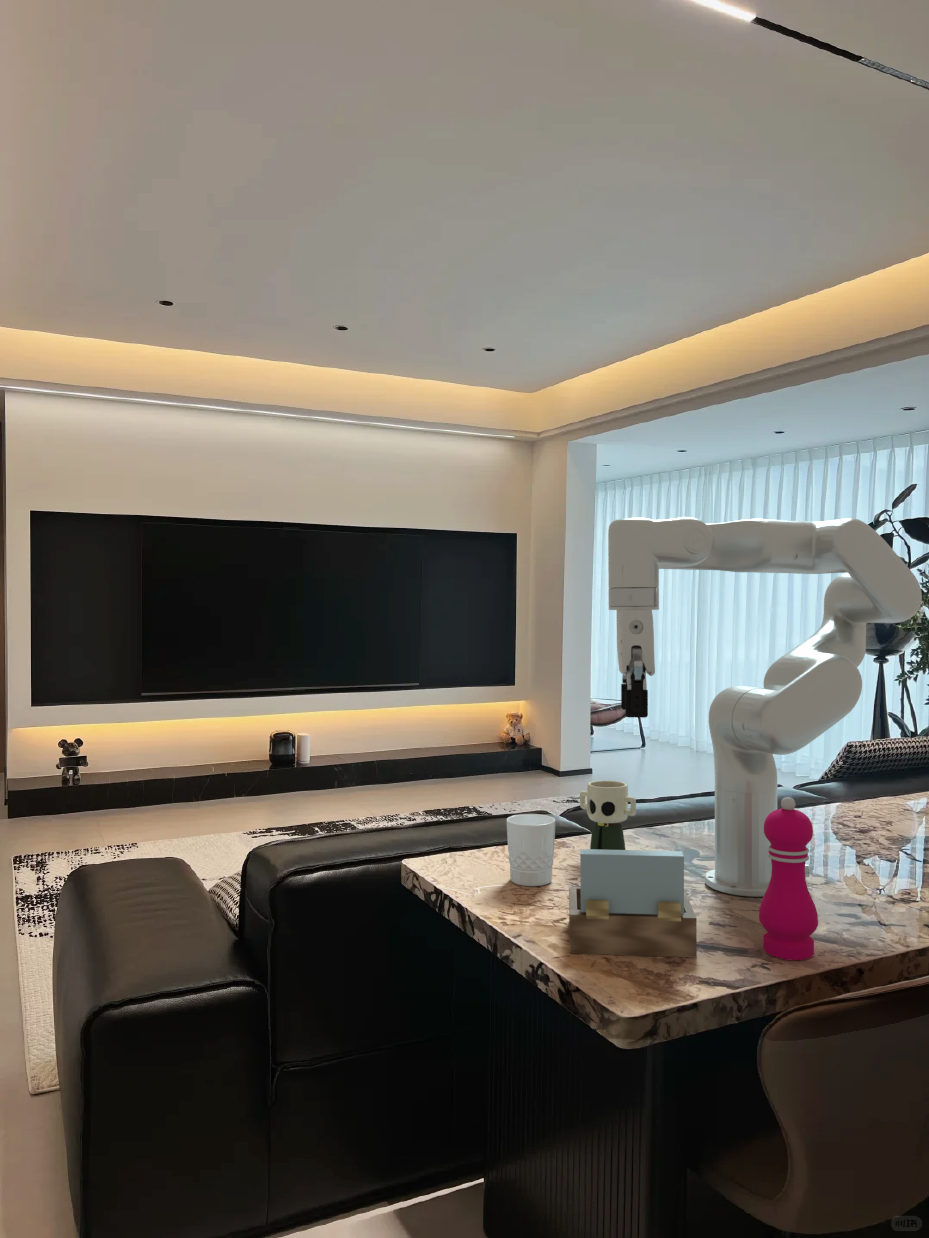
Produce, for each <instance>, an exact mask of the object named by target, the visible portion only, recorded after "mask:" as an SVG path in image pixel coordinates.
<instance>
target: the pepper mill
mask: <svg viewBox="0 0 929 1238" xmlns="http://www.w3.org/2000/svg"><path fill="white" fill-rule="evenodd" d="M780 806H781V808H777V810H774V811H773V812H771V813H770V814H769V815H768V816H767V817H766V819H765V822H764V834H765V836H766V838H767V839H768V840H769V841H770V843H771V844H770V845H769V846H768V850H769V853H768V857H769V858H771V863H772V872H771V879H770V883H769V885H768V888H767V890H766V892H765V895H764V896H763V897H762V899H761V901H760V906H759V910H758V920H759V923H760V924H761V926H762V927H763V928H764V930H765V932H764V934H763V935H762V950H763V951H764V952H765V954H767V955H769V956H771V957H773V958H777V959H780V960H787V961H805V960H808V959H811V958H812V957H814V956H815V940H814V939H813V938H812V937H811V936H812V935H813V933H815V932H816V930H817V929H818V926H819V917H818V911H817V908H816V904H815V902H814V900H813V897H812V896H811V894H810V891H809V889H808V884H807V880H806V877H805V865H806V862H808V861H809V859H810V856H809V852H810V849H809V848H808V847H807V845H808V844H809V843H811V841H812V839H813V836H814V829H813V828H814V827H813V824H812V821H811V820H810V818H809V816H808V815H806V813H804V812H803V811H801V810H798V809H795V808H796V801H795V799H794V798H793V797H790V796H786V797H783V798H782V799H781V801H780Z"/></svg>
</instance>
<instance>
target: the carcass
mask: <svg viewBox="0 0 929 1238" xmlns="http://www.w3.org/2000/svg"><path fill="white" fill-rule="evenodd" d="M568 898H569V899H568V907H569V908H568V918H569V919H568V921H569V922H568V923H569V929H568V930H569V954H579V955H580V954H581V955H582V954H585V955H586V954H587V955H610V956H611V955H614V956H615V955H617V956H640V957H641V956H644V957H645V956H646V957H647V956H648V957H679V958H681V957H682V958H697V952H698V951H697V945H698V943H697V941H698V940H697V932H698V931H697V929H698V928H697V915H696V913H695V910H694V908H693V906H692V904H691V902H690V899H689V897H688V895H687V893H686V890H685V889H684V915H681V903H680V902H658V914H627V913H609V901H608V900H586V912H581V886H573V885H572V886H571V885H570V886H568Z"/></svg>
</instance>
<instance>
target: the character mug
mask: <svg viewBox="0 0 929 1238" xmlns="http://www.w3.org/2000/svg"><path fill="white" fill-rule="evenodd" d="M586 787H587V788H586V789H587V790H581V791H580V794H579V806H580V808H581V809H582V810H586V814H587V816H588V819H590V820H591V821H593V822H594V824H593V826H592V829H591V830H592V831H591V837H590V846H589V849H599V850H626V842H625V835H624V829H623V825H622V824H621V823H622V822H625V821H626V820H627V819H628V816H630V817H635V816H636V814H637V801H636V798H635V797H633V796H629V795H628V794H629V793H628V792H629V791H628V790H629V788H628V783H626V782H624V781H618V780H594V781H589V782H588V783H587V786H586ZM629 803H630V809H629V807H628V806H629Z"/></svg>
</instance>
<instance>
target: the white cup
mask: <svg viewBox="0 0 929 1238" xmlns="http://www.w3.org/2000/svg"><path fill="white" fill-rule="evenodd" d="M555 832H556V818H555V817H552V816H550V815H546V814H537V813H523V814H514V815H511V816H508V817H507V818H506V835H507V836H506V837H507V852H508V862H509V873H510V875H509V876H510V877H509V879H510V881H511V882H512V883H513V884H515V885H517V886H518V885H519V886H524V887H540V886H541V887H542V886H546V885H548V884H550V883H552V880H553V865H554V858H555V855H554V854H555V838H556V835H555V834H556V833H555Z"/></svg>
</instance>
